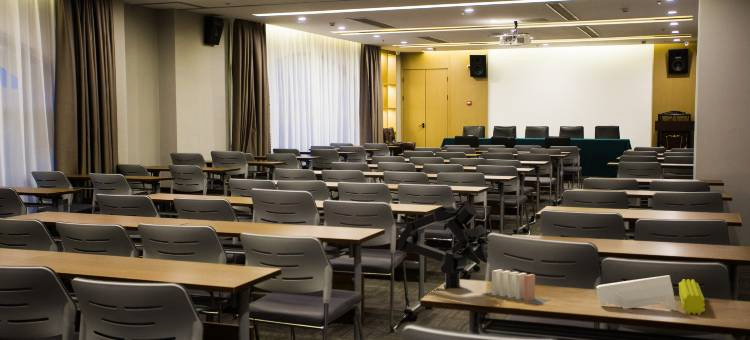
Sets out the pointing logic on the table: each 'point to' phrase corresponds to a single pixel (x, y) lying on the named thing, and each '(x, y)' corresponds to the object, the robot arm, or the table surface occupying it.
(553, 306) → the table surface
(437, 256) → the robot arm
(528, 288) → the tile end
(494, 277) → the tile
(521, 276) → the tile
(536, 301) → the grey serrated plate
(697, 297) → the decorative object
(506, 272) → the tile
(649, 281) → the shelf bracket
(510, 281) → the tile
